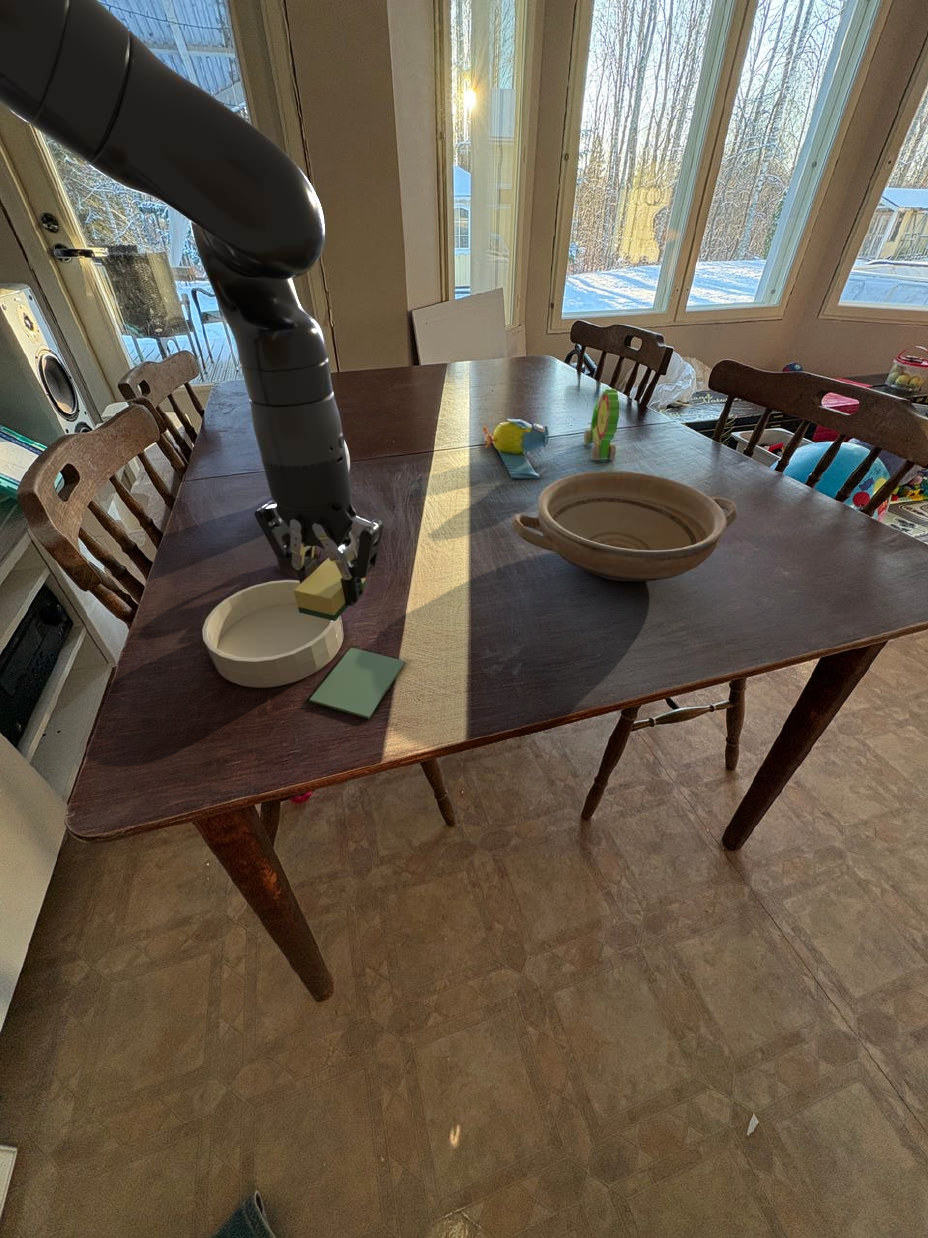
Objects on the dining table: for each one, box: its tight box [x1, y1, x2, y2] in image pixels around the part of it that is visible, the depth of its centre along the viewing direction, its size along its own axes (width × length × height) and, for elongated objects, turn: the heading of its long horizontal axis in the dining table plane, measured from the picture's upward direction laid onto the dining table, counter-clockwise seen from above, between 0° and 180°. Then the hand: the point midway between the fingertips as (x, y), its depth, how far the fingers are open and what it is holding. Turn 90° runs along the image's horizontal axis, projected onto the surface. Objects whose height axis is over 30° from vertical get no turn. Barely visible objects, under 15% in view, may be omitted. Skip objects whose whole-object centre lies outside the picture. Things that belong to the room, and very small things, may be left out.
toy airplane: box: [481, 418, 550, 480], centre depth 121 cm, size 28×9×15 cm
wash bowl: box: [201, 579, 344, 689], centre depth 69 cm, size 17×17×4 cm
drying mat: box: [309, 647, 406, 720], centre depth 64 cm, size 10×8×1 cm
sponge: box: [294, 557, 367, 621], centre depth 57 cm, size 7×4×3 cm, turn 160°
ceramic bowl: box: [511, 470, 739, 582], centre depth 83 cm, size 37×29×10 cm
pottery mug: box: [276, 537, 323, 579], centre depth 84 cm, size 12×10×8 cm
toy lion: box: [583, 388, 620, 461], centre depth 120 cm, size 16×5×15 cm, turn 0°
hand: (333, 596), depth 57 cm, fingers closed on sponge, 4 cm apart
